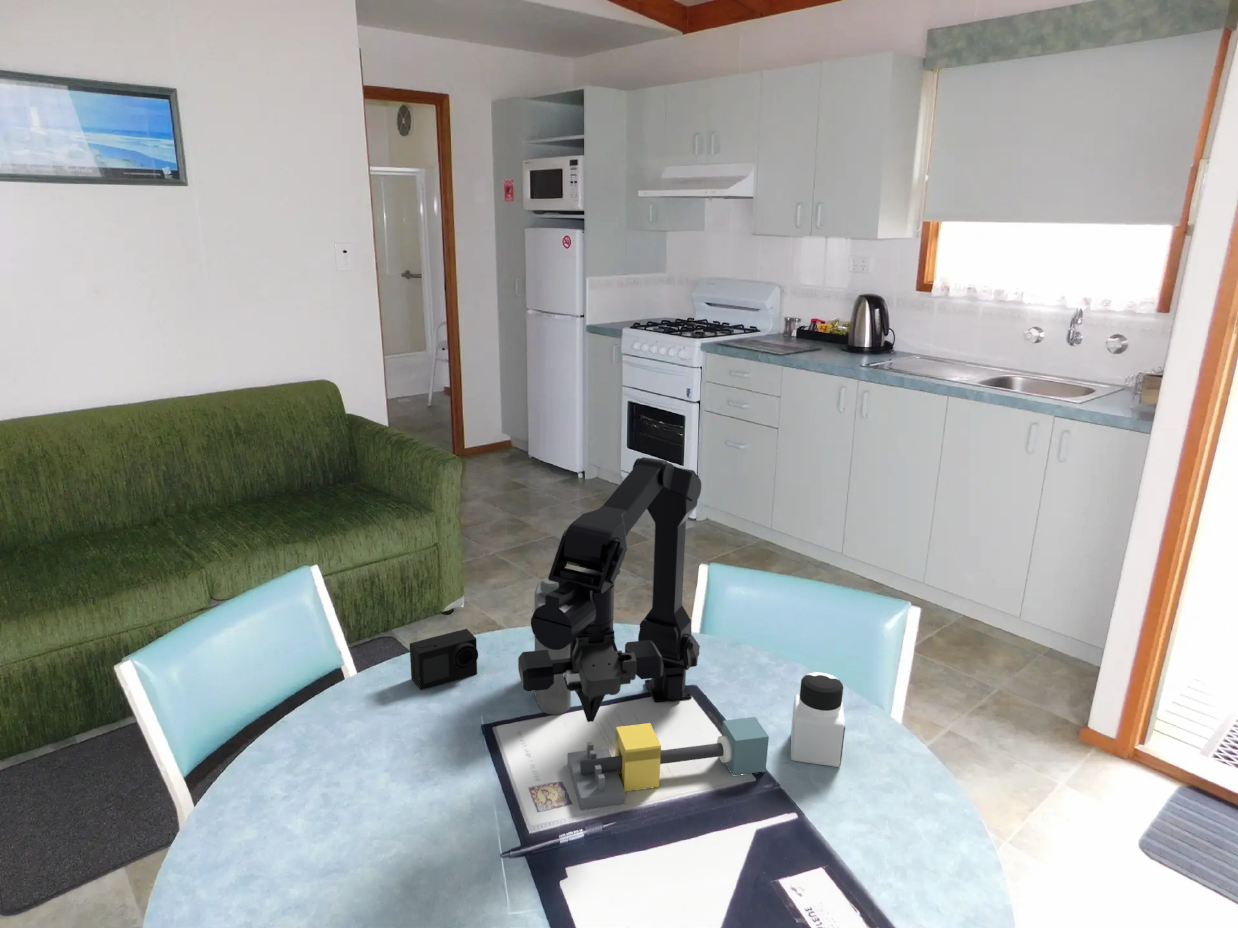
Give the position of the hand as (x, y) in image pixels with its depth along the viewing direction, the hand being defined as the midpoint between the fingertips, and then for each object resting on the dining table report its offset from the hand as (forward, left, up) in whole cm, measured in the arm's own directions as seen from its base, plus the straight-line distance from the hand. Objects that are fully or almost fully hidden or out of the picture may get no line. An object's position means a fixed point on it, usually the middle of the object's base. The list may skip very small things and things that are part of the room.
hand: (589, 720), depth 112 cm
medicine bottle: (-1, +35, -11) cm, 36 cm away
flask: (-25, -1, -11) cm, 27 cm away
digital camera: (-32, -18, -11) cm, 39 cm away
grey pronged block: (0, +1, -10) cm, 10 cm away
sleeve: (0, +7, -10) cm, 12 cm away
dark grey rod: (0, +12, -10) cm, 16 cm away
